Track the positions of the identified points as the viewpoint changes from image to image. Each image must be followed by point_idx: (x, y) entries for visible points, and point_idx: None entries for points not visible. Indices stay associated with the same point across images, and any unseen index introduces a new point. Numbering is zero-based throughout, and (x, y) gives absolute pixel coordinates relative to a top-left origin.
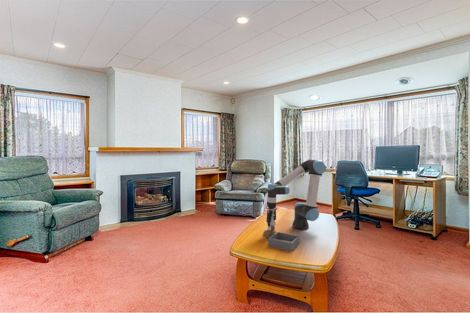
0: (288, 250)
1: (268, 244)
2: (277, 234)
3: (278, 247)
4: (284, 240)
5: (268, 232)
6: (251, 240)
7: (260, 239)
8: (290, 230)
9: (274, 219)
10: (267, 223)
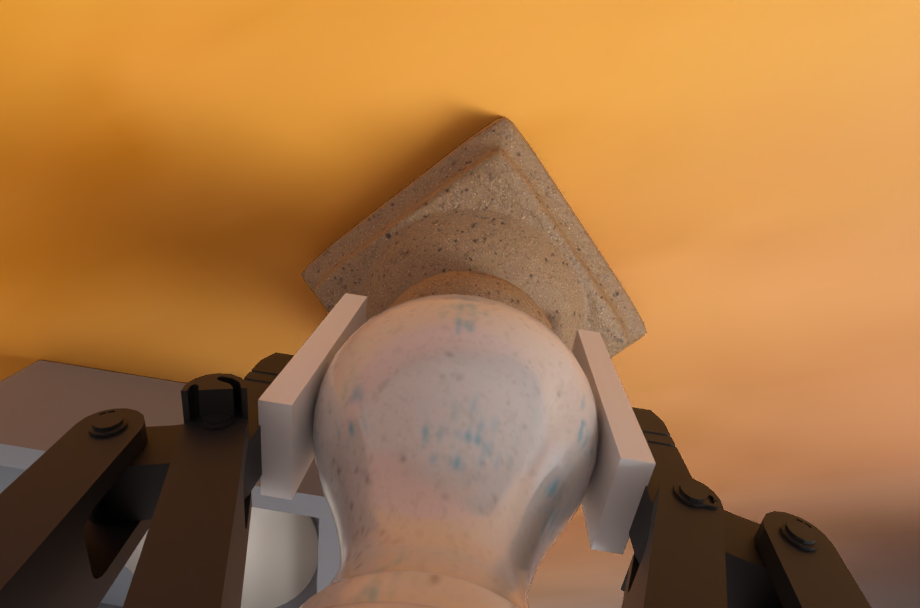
0: None
1: (20, 375)
2: None
3: None
4: (300, 525)
5: (366, 292)
6: (28, 24)
7: (188, 171)
8: (887, 510)
9: (629, 566)
10: (349, 339)
